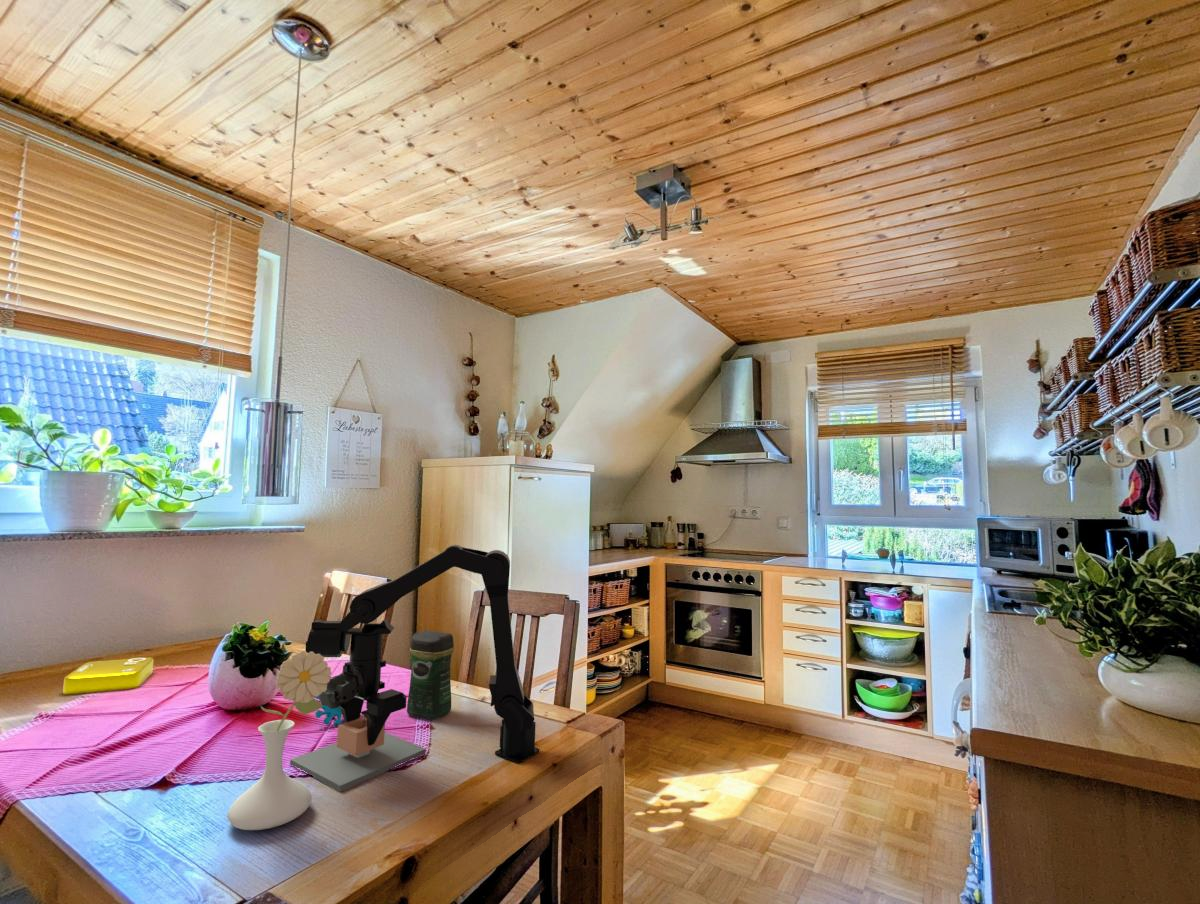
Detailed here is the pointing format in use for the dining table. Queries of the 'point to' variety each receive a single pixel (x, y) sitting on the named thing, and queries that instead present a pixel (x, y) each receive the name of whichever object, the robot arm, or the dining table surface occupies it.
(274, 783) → the flower in vase
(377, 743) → the collar
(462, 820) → the dining table surface
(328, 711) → the teal virus model
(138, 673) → the element tile
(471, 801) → the dining table surface
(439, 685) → the coffee jar
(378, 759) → the post plate
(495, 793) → the dining table surface
